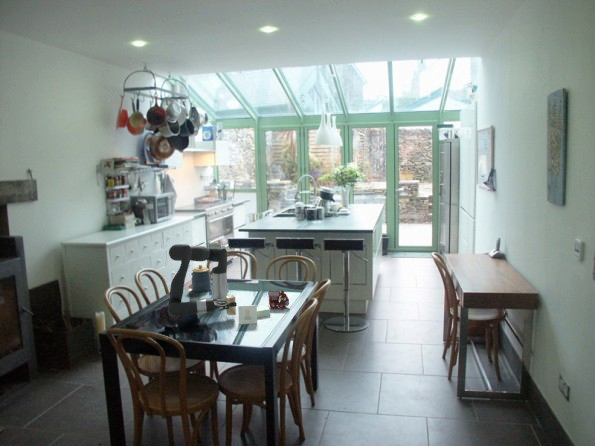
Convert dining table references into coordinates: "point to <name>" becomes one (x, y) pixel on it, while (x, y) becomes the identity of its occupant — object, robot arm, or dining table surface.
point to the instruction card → (247, 314)
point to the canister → (201, 279)
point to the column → (232, 309)
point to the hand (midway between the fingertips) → (235, 302)
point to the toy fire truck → (275, 297)
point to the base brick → (263, 311)
